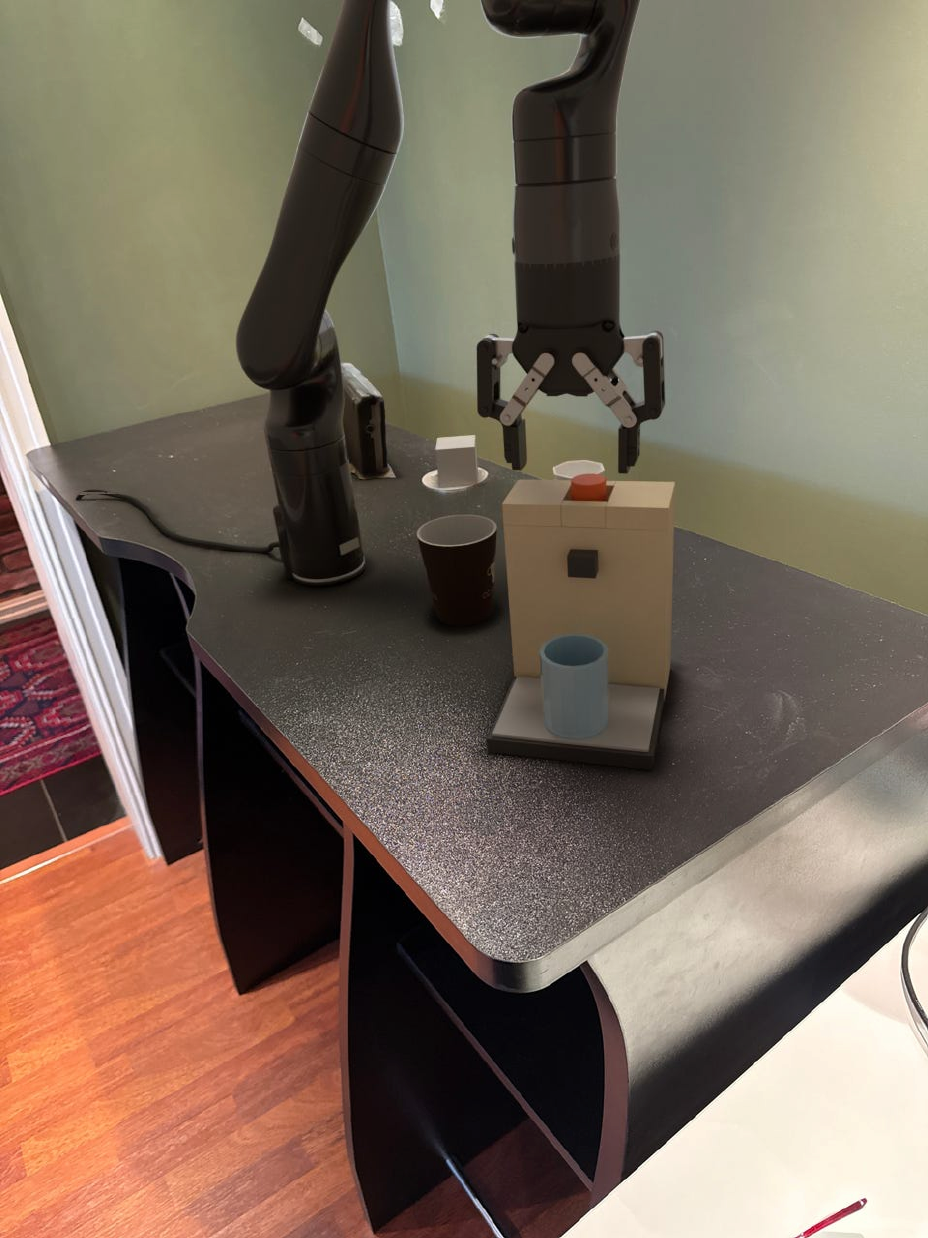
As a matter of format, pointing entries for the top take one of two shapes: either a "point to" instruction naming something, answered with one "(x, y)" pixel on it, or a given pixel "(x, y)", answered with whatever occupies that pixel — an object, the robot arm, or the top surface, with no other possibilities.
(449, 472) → the white cube
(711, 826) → the top surface
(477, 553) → the coffee mug
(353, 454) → the radio
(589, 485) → the brew button
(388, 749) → the top surface
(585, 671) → the creamer cup
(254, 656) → the top surface
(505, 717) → the coffee maker
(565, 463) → the cup
